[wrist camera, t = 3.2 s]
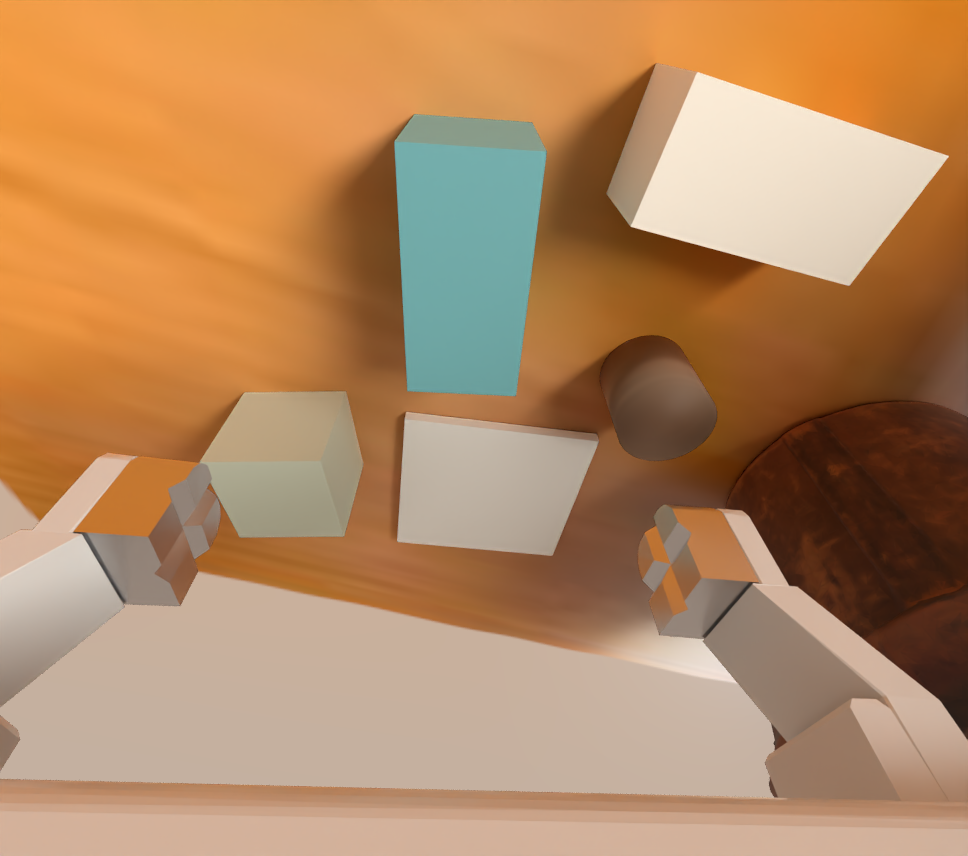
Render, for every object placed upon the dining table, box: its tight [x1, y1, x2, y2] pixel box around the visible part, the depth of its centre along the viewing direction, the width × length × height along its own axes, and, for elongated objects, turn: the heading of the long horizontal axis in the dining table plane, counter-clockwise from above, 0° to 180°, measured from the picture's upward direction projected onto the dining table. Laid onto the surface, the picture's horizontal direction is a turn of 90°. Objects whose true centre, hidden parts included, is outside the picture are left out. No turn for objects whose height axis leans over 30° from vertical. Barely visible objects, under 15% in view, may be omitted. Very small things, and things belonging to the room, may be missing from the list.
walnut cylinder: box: [600, 335, 717, 461], centre depth 22 cm, size 4×4×4 cm
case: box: [726, 402, 968, 798], centre depth 21 cm, size 18×20×18 cm
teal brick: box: [394, 114, 547, 396], centre depth 17 cm, size 8×4×5 cm, turn 177°
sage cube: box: [199, 391, 364, 538], centre depth 23 cm, size 5×5×5 cm
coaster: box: [397, 412, 599, 556], centre depth 28 cm, size 10×10×1 cm
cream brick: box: [606, 63, 949, 286], centre depth 16 cm, size 4×8×4 cm, turn 76°
